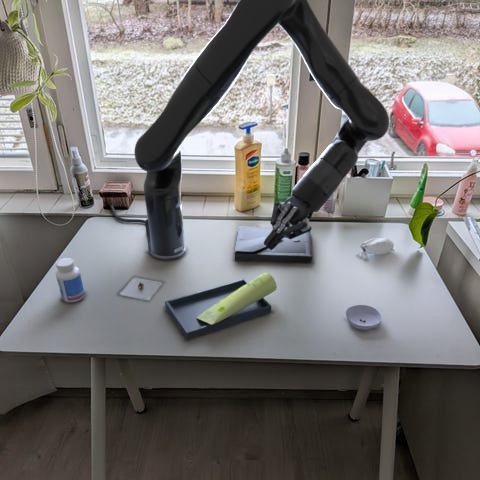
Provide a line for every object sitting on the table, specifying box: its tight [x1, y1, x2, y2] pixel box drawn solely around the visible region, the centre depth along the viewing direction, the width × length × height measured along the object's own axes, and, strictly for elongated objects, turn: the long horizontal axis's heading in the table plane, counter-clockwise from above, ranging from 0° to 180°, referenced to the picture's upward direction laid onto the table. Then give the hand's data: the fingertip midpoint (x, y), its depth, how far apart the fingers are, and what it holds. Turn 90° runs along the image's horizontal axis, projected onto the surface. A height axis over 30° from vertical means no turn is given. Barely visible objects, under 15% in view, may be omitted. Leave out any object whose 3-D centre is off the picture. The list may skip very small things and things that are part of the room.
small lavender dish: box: [345, 304, 383, 331], centre depth 114 cm, size 8×8×2 cm
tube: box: [197, 272, 278, 325], centre depth 115 cm, size 6×5×20 cm
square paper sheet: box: [118, 277, 163, 301], centre depth 124 cm, size 8×8×2 cm
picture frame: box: [234, 225, 313, 264], centre depth 140 cm, size 16×3×21 cm
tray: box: [164, 277, 272, 340], centre depth 117 cm, size 21×13×2 cm, turn 118°
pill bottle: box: [55, 257, 86, 303], centre depth 119 cm, size 6×5×10 cm
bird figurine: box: [358, 237, 396, 261], centre depth 136 cm, size 5×7×10 cm
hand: (267, 246), depth 113 cm, fingers closed
